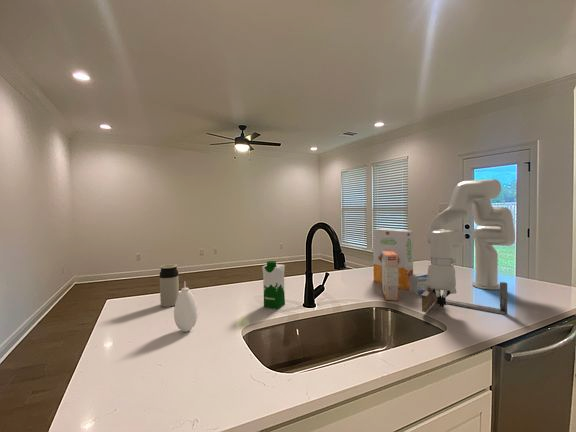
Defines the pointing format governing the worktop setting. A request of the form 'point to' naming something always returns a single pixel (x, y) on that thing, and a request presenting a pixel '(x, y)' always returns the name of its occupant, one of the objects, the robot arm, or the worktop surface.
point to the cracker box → (390, 275)
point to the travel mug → (169, 285)
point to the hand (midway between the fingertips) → (441, 306)
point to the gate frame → (495, 310)
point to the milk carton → (273, 284)
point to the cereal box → (398, 244)
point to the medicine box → (418, 283)
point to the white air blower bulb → (185, 310)
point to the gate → (428, 300)
